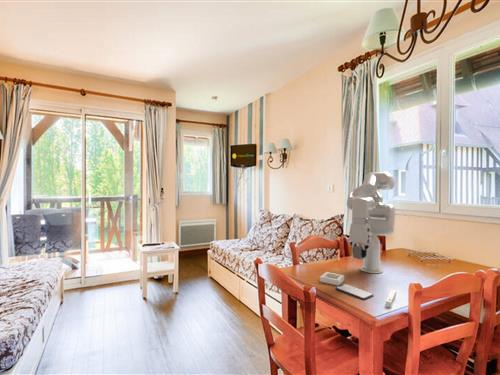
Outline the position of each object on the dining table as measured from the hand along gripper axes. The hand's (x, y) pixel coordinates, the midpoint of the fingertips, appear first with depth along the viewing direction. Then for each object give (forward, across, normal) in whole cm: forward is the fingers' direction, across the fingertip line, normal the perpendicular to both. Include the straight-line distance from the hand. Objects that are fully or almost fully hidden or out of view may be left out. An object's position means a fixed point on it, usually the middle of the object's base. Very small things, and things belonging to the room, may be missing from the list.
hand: (359, 255), depth 144 cm
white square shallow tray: (+15, +12, +7) cm, 21 cm away
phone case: (+16, -4, +11) cm, 20 cm away
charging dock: (+15, -20, +6) cm, 26 cm away
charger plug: (+1, 0, 0) cm, 1 cm away
